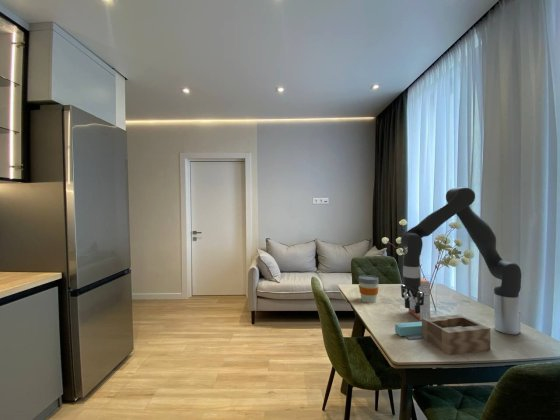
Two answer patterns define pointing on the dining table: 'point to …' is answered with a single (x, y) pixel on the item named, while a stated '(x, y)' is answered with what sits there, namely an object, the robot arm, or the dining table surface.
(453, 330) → the board
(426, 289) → the cracker box
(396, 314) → the dining table surface
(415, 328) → the teal block
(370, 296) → the reusable coffee cup
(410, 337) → the grey mat
